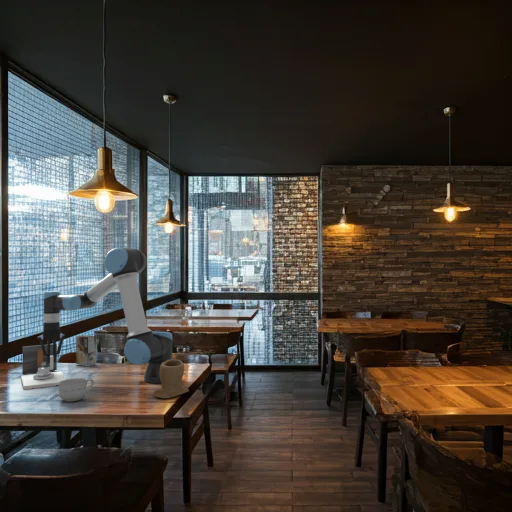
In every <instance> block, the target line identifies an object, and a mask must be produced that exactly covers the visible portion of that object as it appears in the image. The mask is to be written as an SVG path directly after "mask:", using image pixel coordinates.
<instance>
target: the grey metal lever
mask: <svg viewBox="0 0 512 512" xmlns="http://www.w3.org/2000/svg"><path fill="white" fill-rule="evenodd" d="M36 374H37V375H34V376H33V379H48V378H52V377H54V374H51V373H50V372H49V367H46V362H42V366H41V367H39V368H38V373H36Z"/></svg>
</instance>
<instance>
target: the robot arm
mask: <svg viewBox="0 0 512 512" xmlns="http://www.w3.org/2000/svg"><path fill="white" fill-rule="evenodd" d="M103 262H104V264H103V265H104V267H105V269H106V271H107V272H108V273H109V274H108V275H106V276H105V277H103V278H102V279H100V280H99V281H98V282H97V283H95V284H94V285H93V286H91V288H89V289H88V290H86V291H85V292H84V293H79V294H61V292H60V290H46V291H44V292H43V320H42V321H43V324H42V325H43V331H42V333H41V335H39V336H37V340H38V341H39V343H40V344H39V345H41V347H42V351H43V354H44V356H47V362H48V363H50V370H53V362H56V355H57V356H58V355H60V354H61V350H62V345H63V342H64V339H65V338H66V334H63V333H62V331H61V328H60V327H61V325H60V324H61V322H60V321H61V316H60V315H61V311H69V312H71V311H72V312H73V311H77V310H81V309H92V308H94V307H96V306H97V305H98V303H99V301H100V300H101V299H103V298H104V297H105V296H107V295H108V294H109V293H111V292H112V291H113V290H114V289H116V288H118V290H119V291H118V292H119V296H120V298H121V299H120V300H121V305H122V307H123V312H124V317H125V320H126V321H125V322H126V325H127V326H126V327H127V330H128V334H127V335H126V343H125V344H124V345H125V346H124V347H123V353H124V356H125V358H126V359H127V361H128V362H130V363H131V364H133V365H136V366H137V365H144V364H147V365H146V369H145V370H144V375H143V381H144V382H145V383H149V382H150V383H149V384H161V380H160V375H159V372H160V365H161V364H162V363H163V362H165V361H167V360H171V359H173V340H174V339H173V334H172V333H171V332H169V331H153V330H152V329H150V328H149V327H148V324H147V320H146V315H145V311H144V307H143V301H142V298H141V294H140V290H139V285H138V281H137V277H138V275H139V274H140V273H142V272H143V270H144V269H145V268H146V265H147V257H146V255H145V253H143V252H142V251H141V250H139V249H136V248H123V247H116V248H111V249H110V250H109V251H108V252H107V254H106V255H105V258H104V261H103ZM58 338H59V342H58V344H57V339H58ZM44 339H45V340H46V345H47V353H46V351H45V347H44V345H45V344H44ZM51 341H52V344H53V355H52V356H50V344H51ZM56 344H57V352H56Z"/></svg>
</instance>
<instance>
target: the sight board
mask: <svg viewBox="0 0 512 512" xmlns="http://www.w3.org/2000/svg"><path fill="white" fill-rule="evenodd" d="M44 347H45V351H46V353H47V344H44ZM57 349H58V344H57V343H56V352H57ZM52 355H53V343H52V344H51V343H50V356H52ZM57 358H58V355H56V362H53V370H50V363H48V362H47V356H44V354H43V351H42V347H41V344H38V345H28V346H25V345H24V346H22V363H21V364H22V368H21V369H22V370H21V371H22V372H21V373H22V374H25V375H28V374H27V373H34V374H37V373H36V372H38V368H39V367H41V366H42V362H46V367H49V371H53V372H56V371H55V370H57V371H58V369H57V368H58V367H57V366H58V359H57Z"/></svg>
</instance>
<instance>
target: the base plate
mask: <svg viewBox="0 0 512 512" xmlns="http://www.w3.org/2000/svg"><path fill="white" fill-rule="evenodd" d="M49 373H51V374H54V377H52V378H48V379H33V376H34V375H37V374H38V373H34V374H25V375H21V376H20V378H21V379H20V380H21V384H23V385H22V389H23V390H25V389H26V390H32V388H34V389H40V388H41V387H42V388H49V387H48V386H50V387H56V385H59V384H58V382H60V381H63V380H67V378H66V377H65V375H64V374H63V372H62V371H53V372H49Z"/></svg>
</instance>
